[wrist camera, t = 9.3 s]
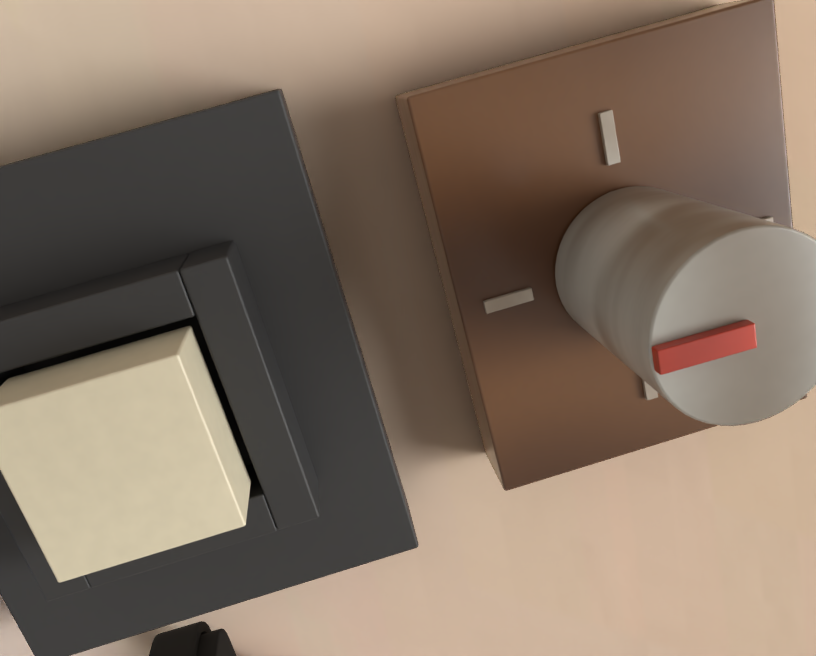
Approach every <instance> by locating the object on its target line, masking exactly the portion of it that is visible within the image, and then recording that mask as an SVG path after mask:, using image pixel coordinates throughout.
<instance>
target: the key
mask: <svg viewBox="0 0 816 656" xmlns="http://www.w3.org/2000/svg"><path fill="white" fill-rule="evenodd" d="M0 470H1V472H2V474H3V476H4V478H5V480H6V482H7V484H8V486H9V488H10V490H11V492H12V494H13V496H14V498H15V500H16V501H17V503H18V505H19V507H20V509H21V511H22V513H23V515H24V517H25V519H26V521H27V523H28V525H29V527H30V529H31V531H32V533H33V534H34V536H35V538H36V540H37V542H38V544H39V546H40V548H41V550H42V552H43V554H44V556H45V558H46V560H47V562H48V564H49V566H50V567H51V569H52V571H53V573H54V575H55V577H56V579H57V581H58V582H64V581H67V580H70V579H73V578H77V577H80V576H83V575H87V574H90V573H93V572H96V571H100V570H103V569H106V568H109V567H113V566H116V565H119V564H122V563H126V562H129V561H132V560H136V559H139V558H142V557H145V556H149V555H152V554H155V553H158V552H162V551H165V550H168V549H171V548H175V547H178V546H181V545H185V544H188V543H191V542H194V541H198V540H201V539H204V538H207V537H211V536H214V535H217V534H220V533H224V532H227V531H230V530H234V529H237V528H240V527H243V526H245V525H246V518H247V510H248V501H249V493H250V485H251V480H250V477H249V474H248V472H247V469H246V467H245V464H244V461H243V459H242V456H241V454H240V451H239V448H238V446H237V443H236V441H235V438H234V435H233V433H232V430H231V428H230V425H229V422H228V420H227V417H226V415H225V412H224V409H223V407H222V404H221V402H220V399H219V396H218V394H217V391H216V388H215V386H214V383H213V381H212V378H211V375H210V373H209V370H208V368H207V365H206V362H205V360H204V357H203V355H202V352H201V349H200V347H199V344H198V342H197V339H196V336H195V334H194V331H193V329H192V327H191V326H186V327H183V328H179V329H176V330H172V331H169V332H165V333H162V334H159V335H155V336H152V337H148V338H145V339H141V340H138V341H135V342H131V343H128V344H124V345H121V346H117V347H114V348H111V349H107V350H104V351H100V352H97V353H93V354H90V355H87V356H83V357H80V358H76V359H73V360H69V361H66V362H63V363H59V364H56V365H52V366H49V367H45V368H42V369H39V370H35V371H32V372H28V373H25V374H21V375H18V376H15V377H11V378H8V379H7V380H6V381H5V382H4V383H3V384H2V385H1V386H0Z"/></svg>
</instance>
